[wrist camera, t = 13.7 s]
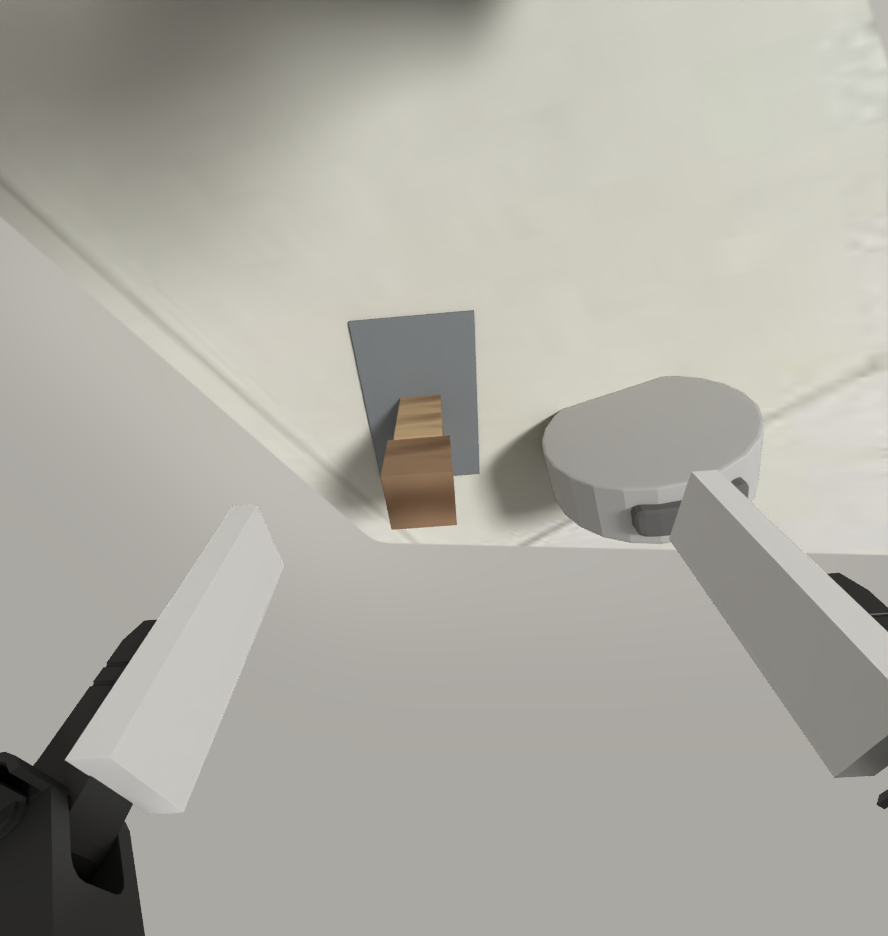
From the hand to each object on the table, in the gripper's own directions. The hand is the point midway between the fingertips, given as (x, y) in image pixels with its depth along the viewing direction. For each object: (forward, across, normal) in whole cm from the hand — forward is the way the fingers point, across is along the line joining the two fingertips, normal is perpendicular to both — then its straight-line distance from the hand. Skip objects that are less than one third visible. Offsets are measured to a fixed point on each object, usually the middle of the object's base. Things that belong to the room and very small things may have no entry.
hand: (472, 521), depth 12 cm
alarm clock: (+37, +21, -17) cm, 46 cm away
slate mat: (+37, -4, -13) cm, 39 cm away
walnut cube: (+26, -4, -15) cm, 31 cm away
